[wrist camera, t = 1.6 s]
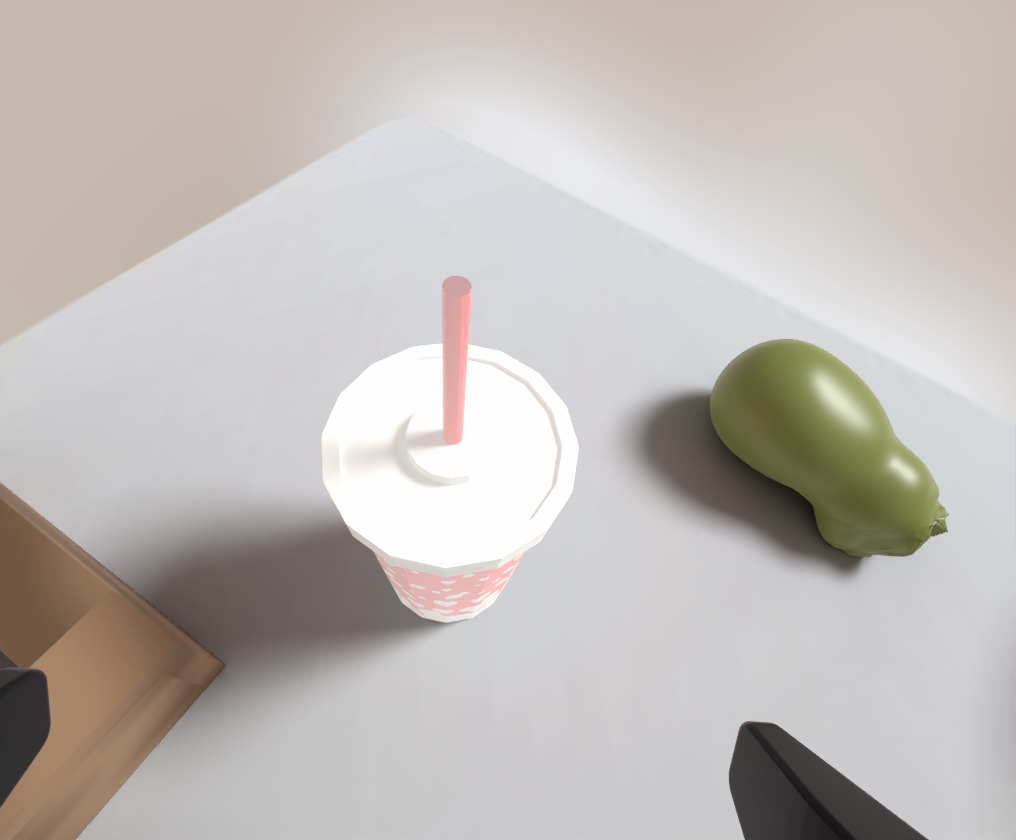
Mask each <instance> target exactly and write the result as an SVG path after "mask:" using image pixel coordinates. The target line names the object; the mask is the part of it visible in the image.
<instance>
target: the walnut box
mask: <svg viewBox="0 0 1016 840" xmlns="http://www.w3.org/2000/svg"><path fill="white" fill-rule="evenodd" d="M0 651H1V652H2V653H3V654H4V655H5V656H7V657H8V658H9V659H10V660H11V661H12V662H13V663H14V664H15V665H16V666H17V667H20V668H33V669H39V670H41V671H43V672H44V674H45V675H46V677H47V683H48V694H49V705H50V716H51V727H50V732H49V735H48V738H47V740H46V742H45V744H44V746H43V747H42V749H41V751H40V752H39V753H38V755H37V756H36V758H35V759H34V761H33V762H32V764H31V765H30V766H29V768H28V769H27V771H26V772H25V774H24V775H23V777H22V778H21V779H20V781H19V782H18V784H17V785H16V787H15V788H14V789H13V791H12V792H11V794H10V795H9V797H8V798H7V800H6V801H5V802H4V804H3V805H2V807H1V808H0V840H75V839H76V838H77V837H78V836H79V835H80V833H81V832H82V831H83V830H84V829H85V828H86V826H87V825H88V824H89V823H90V822H91V821H92V820H93V818H94V817H95V816H96V815H97V814H98V813H99V811H100V810H101V809H102V808H103V807H104V806H105V804H106V803H107V802H108V801H109V800H110V799H111V798H112V796H113V795H114V794H115V793H116V792H117V791H118V789H119V788H120V787H121V786H122V785H123V784H124V782H125V781H126V780H127V779H128V778H129V777H130V776H131V774H132V773H133V772H134V771H135V770H136V769H137V767H138V766H139V765H140V764H141V763H142V762H143V761H144V759H145V758H146V757H147V756H148V755H149V754H150V752H151V751H152V750H153V749H154V748H155V747H156V745H157V744H158V743H159V742H160V741H161V740H162V739H163V737H164V736H165V735H166V734H167V733H168V732H169V730H170V729H171V728H172V727H173V726H174V725H175V723H176V722H177V721H178V720H179V719H180V718H181V717H182V715H183V714H184V713H185V712H186V711H187V710H188V708H189V707H190V706H191V705H192V704H193V703H194V702H195V700H196V699H197V698H198V697H199V696H200V695H201V693H202V692H203V691H204V690H205V689H206V688H207V686H208V685H209V684H210V683H211V682H212V681H213V680H214V678H215V677H216V676H217V675H218V674H219V673H220V671H221V670H222V669H223V668H224V667H225V666H226V665H225V664H224V663H223V662H221V661H220V660H219V659H218V658H216V657H215V656H214V655H213V654H211V653H210V652H209V651H208V650H206V649H205V648H204V647H203V646H202V645H200V644H199V643H198V642H197V641H195V640H194V639H193V638H192V637H190V636H189V635H188V634H187V633H185V632H184V631H183V630H182V629H181V628H179V627H178V626H177V625H176V624H174V623H173V622H172V621H171V620H169V619H168V618H167V617H166V616H164V615H163V614H162V613H161V612H160V611H158V610H157V609H156V608H155V607H153V606H152V605H151V604H150V603H148V602H147V601H146V600H145V599H143V598H142V597H141V596H140V595H139V594H137V593H136V592H135V591H134V590H132V589H131V588H130V587H129V586H127V585H126V584H125V583H124V582H123V581H121V580H120V579H119V578H118V577H116V576H115V575H114V574H113V573H111V572H110V571H109V570H108V569H106V568H105V567H104V566H103V565H102V564H100V563H99V562H98V561H97V560H95V559H94V558H93V557H92V556H90V555H89V554H88V553H87V552H85V551H84V550H83V549H82V548H81V547H79V546H78V545H77V544H76V543H74V542H73V541H72V540H71V539H69V538H68V537H67V536H66V535H64V534H63V533H62V532H61V531H60V530H58V529H57V528H56V527H55V526H53V525H52V524H51V523H50V522H48V521H47V520H46V519H45V518H44V517H42V516H41V515H40V514H39V513H37V512H36V511H35V510H34V509H32V508H31V507H30V506H29V505H27V504H26V503H25V502H24V501H23V500H21V499H20V498H19V497H18V496H16V495H15V494H14V493H13V492H11V491H10V490H9V489H8V488H6V487H5V486H4V485H3V484H2V483H0Z"/></svg>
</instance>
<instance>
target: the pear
mask: <svg viewBox="0 0 1016 840" xmlns="http://www.w3.org/2000/svg"><path fill="white" fill-rule="evenodd" d="M710 415H711V420H712V423H713V426H714V428H715V430H716V432H717V434H718V436H719V437H720V439H721V440H722V442H723V443H724V444H725V445H726V446H727V447H728V448H729V449H730V450H731V451H732V452H733V453H734V454H735V455H737V456H738V457H739V458H740V459H741V460H743V461H744V462H745V463H746V464H748V465H749V466H751V467H752V468H754V469H755V470H757V471H758V472H760V473H762V474H763V475H765V476H767V477H769V478H771V479H772V480H774V481H776V482H779V483H781V484H783V485H785V486H787V487H790V488H792V489H794V490H796V491H797V492H799V493H800V494H801V495H802V496H803V497H805V498H806V499H807V500H808V501H809V502H810V503H811V504H812V506H813V509H814V513H815V518H816V523H817V526H818V529H819V531H820V533H821V535H822V537H823V538H824V539H825V540H826V541H827V542H828V543H829V544H830V545H832V546H833V547H835V548H838V549H841V550H843V551H844V552H845V553H846V554H848V555H849V556H850V557H852V556H855V557H857V556H858V557H871V556H872V555H884V556H901V557H904V556H908V555H912V554H913V553H914V552H915V551H916V550H917V549H919V548H920V547H921V546H922V545H923V544H924V543H925V542H926V541H927V540H928V539H929V538H930V536H933V537H934V536H935V534H936V536H937V535H938V534H940V533H941V534H942V533H945V532H948V530H947V526H946V522H945V518H946V517H947V516H948V515H949V513H948V512H947V511H946V510H945V508H944V507H943V506H942V505H941V504H940V503H939V502H938V500H937V499H938V497H939V488H938V486H937V484H936V482H935V481H934V479H933V477H932V475H931V473H930V471H929V470H928V468H927V467H926V465H925V464H924V463H923V462H922V461H921V460H920V459H919V458H918V457H917V456H916V455H915V454H914V453H913V452H911V451H910V450H909V449H908V448H907V447H906V446H904V445H903V444H902V443H901V442H900V441H899V439H898V438H897V437H896V435H895V433H894V431H893V429H892V426H891V424H890V421H889V419H888V417H887V415H886V413H885V411H884V409H883V407H882V405H881V404H880V402H879V401H878V399H877V398H876V396H875V395H874V393H873V392H872V391H871V390H870V388H869V387H868V386H867V385H866V384H865V383H864V381H863V380H862V379H861V378H860V377H859V376H858V375H857V374H856V373H855V372H853V371H852V370H851V369H850V368H849V367H848V366H847V365H845V364H844V363H843V362H842V361H840V360H839V359H838V358H836V357H835V356H833V355H832V354H830V353H829V352H827V351H825V350H823V349H822V348H820V347H817V346H815V345H813V344H810V343H807V342H804V341H799V340H793V339H779V340H772V341H767V342H764V343H761V344H758V345H756V346H753V347H751V348H749V349H748V350H746V351H744V352H743V353H741V354H740V355H738V356H737V357H736V358H735V359H733V360H732V361H731V362H730V363H729V364H728V365H727V366H726V368H725V369H724V370H723V371H722V373H721V374H720V376H719V377H718V379H717V381H716V383H715V385H714V387H713V390H712V394H711V399H710Z"/></svg>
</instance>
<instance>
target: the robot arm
mask: <svg viewBox="0 0 1016 840" xmlns="http://www.w3.org/2000/svg"><path fill="white" fill-rule="evenodd" d="M50 727H51V716H50V705H49V694H48V683H47V677H46V675H45V674H44V672H43V671H41V670H39V669H33V668H20V667H6V668H2V669H0V808H1V807H2V805H3V804H4V802H5V801H6V800H7V798H8V797H9V795H10V794H11V792H12V791H13V789H14V788H15V787H16V785H17V784H18V782H19V781H20V779H21V778H22V777H23V775H24V774H25V772H26V771H27V769H28V768H29V766H30V765H31V764H32V762H33V761H34V759H35V758H36V756H37V755H38V753H39V752H40V751H41V749H42V747H43V746H44V744H45V742H46V740H47V738H48V735H49V732H50ZM729 785H730V791H731V795H732V798H733V801H734V805H735V808H736V812H737V815H738V818H739V822H740V825H741V828H742V832H743V835H744V838H745V840H928V839H927V838H926V837H924V836H923V835H922V834H920V833H919V832H918V831H916V830H915V829H914V828H912V827H911V826H910V825H908V824H907V823H906V822H904V821H903V820H902V819H900V818H899V817H898V816H896V815H895V814H894V813H893V812H891V811H890V810H889V809H887V808H886V807H885V806H883V805H882V804H881V803H879V802H878V801H877V800H875V799H874V798H873V797H871V796H870V795H869V794H867V793H866V792H865V791H863V790H862V789H861V788H860V787H858V786H857V785H856V784H854V783H853V782H852V781H850V780H849V779H848V778H846V777H845V776H844V775H842V774H841V773H840V772H838V771H837V770H836V769H834V768H833V767H832V766H831V765H829V764H828V763H827V762H825V761H824V760H823V759H821V758H820V757H819V756H817V755H816V754H815V753H813V752H812V751H811V750H809V749H808V748H807V747H805V746H804V745H803V744H801V743H800V742H799V741H798V740H796V739H795V738H794V737H792V736H791V735H790V734H788V733H787V732H786V731H784V730H783V729H782V728H780V727H779V726H777V725H776V724H773V723H767V722H753V721H747V722H744V723H743V724H742V725H741V727H740V729H739V732H738V736H737V740H736V744H735V749H734V753H733V757H732V761H731V765H730V770H729Z"/></svg>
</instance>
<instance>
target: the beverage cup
mask: <svg viewBox="0 0 1016 840" xmlns="http://www.w3.org/2000/svg"><path fill="white" fill-rule="evenodd" d="M471 288H472V287H471V283H470V282H469V281H468V280H467V279H466V278H464V277H460V276H451V277H449V278H447V279H446V280H445V281H444V282H443V284H442V344H434V345H423V346H413V347H411V348H409V349H406V350H404V351H402V352H399V353H397V354H395V355H392V356H390V357H388V358H385V359H383V360H381V361H378V362H376V363H374V364H372V365H371V366H370V367H369V368H367V369H366V370H365V371H364V372H363V373H362V374H361V375H360V376H359V377H358V378H357V379H356V380H355V381H354V382H353V383H352V384H350V385H349V386H348V387H347V388H346V389H345V390H344V391H343V392H342V393H341V394H340V395H339V397H338V399H337V402H336V404H335V406H334V408H333V411H332V413H331V415H330V417H329V420H328V422H327V424H326V426H325V429H324V431H323V433H322V435H321V437H322V467H323V482H324V485H325V487H326V489H327V491H328V492H329V494H330V496H331V498H332V500H333V502H334V503H335V505H336V507H337V509H338V511H339V513H340V514H341V516H342V518H343V520H344V522H345V523H346V525H347V527H348V529H349V530H350V532H351V534H352V536H353V537H354V538H356V539H357V540H359V541H360V542H361V543H363V544H364V545H366V546H367V547H368V548H370V549H371V550H372V551H373V552H374V553H375V555H376V557H377V559H378V561H379V562H380V564H381V566H382V568H383V570H384V572H385V573H386V575H387V577H388V579H389V581H390V582H391V584H392V586H393V588H394V590H395V591H396V593H397V595H398V597H399V599H400V600H401V602H402V603H403V604H404V605H406V606H407V607H408V608H410V609H411V610H412V611H414V612H415V613H416V614H418V615H419V616H420V617H422V618H426V619H431V620H435V621H440V622H444V623H449V622H454V621H459V620H465V619H470V618H472V617H474V616H475V615H477V614H478V613H480V612H481V611H483V610H484V609H486V608H487V607H489V606H490V605H492V604H493V602H494V601H495V599H496V598H497V596H498V595H499V593H500V592H501V590H502V589H503V587H504V586H505V584H506V583H507V581H508V579H509V578H510V576H511V574H512V573H513V571H514V569H515V568H516V566H517V564H518V563H519V561H520V559H521V558H522V556H523V554H524V553H525V551H526V550H528V549H529V548H531V547H532V546H534V545H536V544H537V543H539V542H540V541H541V539H542V538H543V536H544V535H545V533H546V532H547V530H548V529H549V527H550V526H551V524H552V523H553V521H554V520H555V518H556V517H557V515H558V514H559V512H560V511H561V509H562V508H563V506H564V505H565V503H566V501H567V500H568V498H569V497H570V495H571V493H572V491H573V485H574V478H575V471H576V464H577V456H578V449H579V445H578V442H577V439H576V436H575V432H574V429H573V426H572V423H571V419H570V416H569V413H568V410H567V406H566V405H565V404H564V403H563V401H562V400H561V399H560V398H559V397H558V395H557V394H556V393H555V392H554V391H553V389H552V388H551V387H550V386H549V385H548V383H547V382H546V381H545V380H544V379H543V377H542V376H541V375H540V374H539V373H538V372H536V371H534V370H532V369H531V368H529V367H527V366H526V365H524V364H522V363H520V362H519V361H517V360H515V359H514V358H512V357H510V356H508V355H507V354H505V353H503V352H501V351H497V350H492V349H487V348H483V347H478V346H473V345H469V344H468V340H469V323H470V305H471Z"/></svg>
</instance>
